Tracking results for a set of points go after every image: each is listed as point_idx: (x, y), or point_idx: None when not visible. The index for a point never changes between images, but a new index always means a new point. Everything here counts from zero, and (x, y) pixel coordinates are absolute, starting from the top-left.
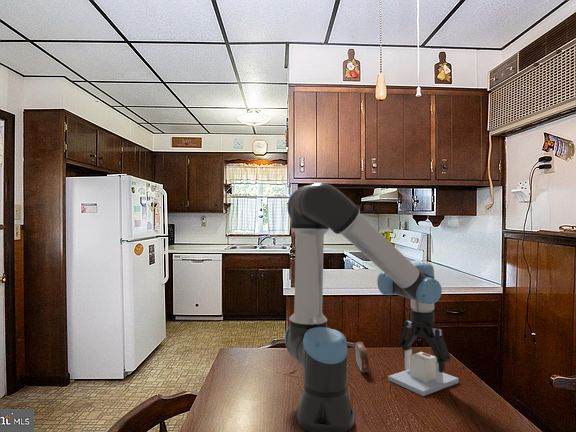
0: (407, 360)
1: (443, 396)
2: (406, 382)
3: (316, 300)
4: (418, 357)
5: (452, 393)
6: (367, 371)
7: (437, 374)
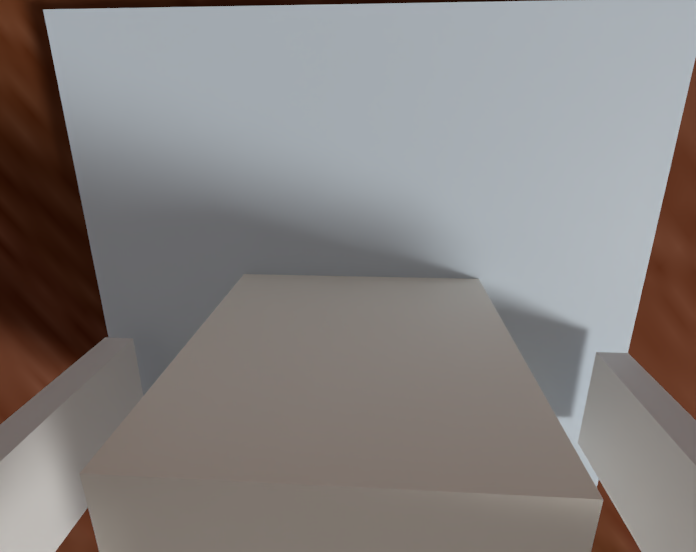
0: (664, 462)
1: (9, 221)
2: (363, 46)
3: None
4: (324, 518)
5: (33, 346)
6: None
7: (41, 395)
